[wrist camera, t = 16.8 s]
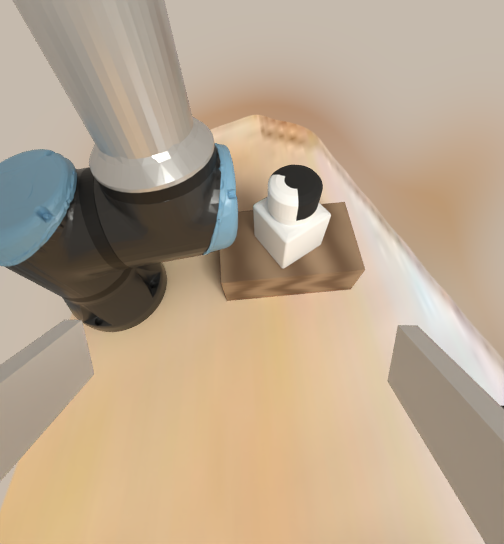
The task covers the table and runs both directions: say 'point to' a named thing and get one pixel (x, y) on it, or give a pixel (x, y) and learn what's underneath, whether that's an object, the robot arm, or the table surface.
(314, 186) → the medicine bottle
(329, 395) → the table surface
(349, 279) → the walnut box
